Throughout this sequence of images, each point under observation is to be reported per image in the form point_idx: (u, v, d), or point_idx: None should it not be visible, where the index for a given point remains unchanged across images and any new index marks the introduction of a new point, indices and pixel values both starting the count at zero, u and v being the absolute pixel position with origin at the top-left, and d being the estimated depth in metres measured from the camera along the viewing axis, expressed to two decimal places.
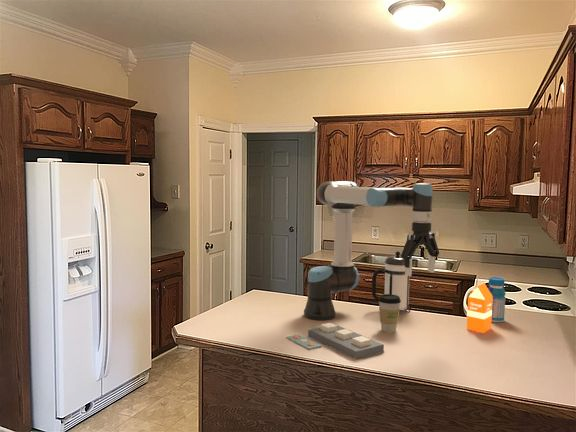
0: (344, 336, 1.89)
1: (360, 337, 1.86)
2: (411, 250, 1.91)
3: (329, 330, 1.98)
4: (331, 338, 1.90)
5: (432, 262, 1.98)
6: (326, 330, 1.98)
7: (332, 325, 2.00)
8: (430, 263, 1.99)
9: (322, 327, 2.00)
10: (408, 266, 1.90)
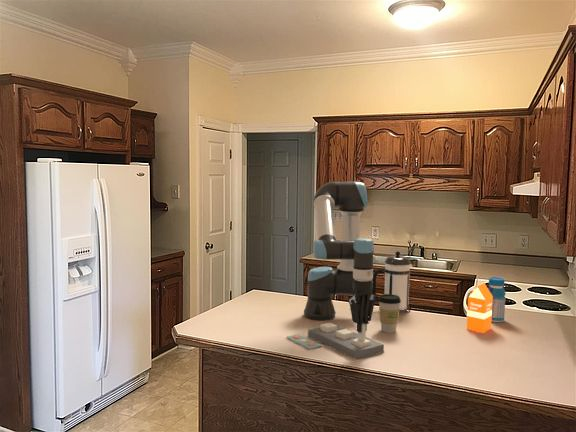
0: (344, 336, 1.89)
1: None
2: (359, 314, 1.82)
3: (329, 330, 1.98)
4: (331, 338, 1.90)
5: None
6: (326, 330, 1.98)
7: (332, 325, 2.00)
8: None
9: (322, 327, 2.00)
10: (360, 331, 1.82)
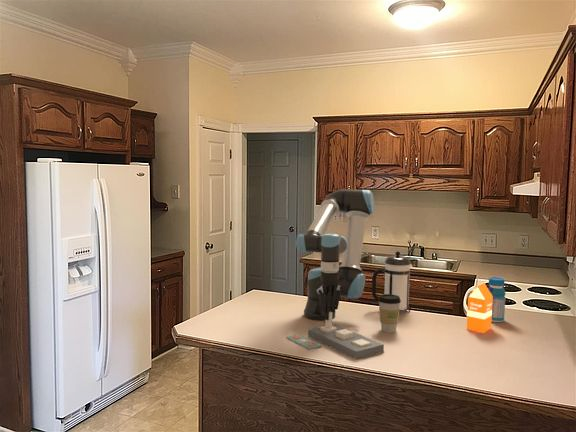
0: (344, 336, 1.89)
1: (360, 340, 1.86)
2: (326, 303, 1.98)
3: (329, 332, 1.98)
4: (331, 338, 1.90)
5: None
6: None
7: (332, 327, 2.00)
8: None
9: (322, 329, 2.01)
10: (327, 318, 1.99)
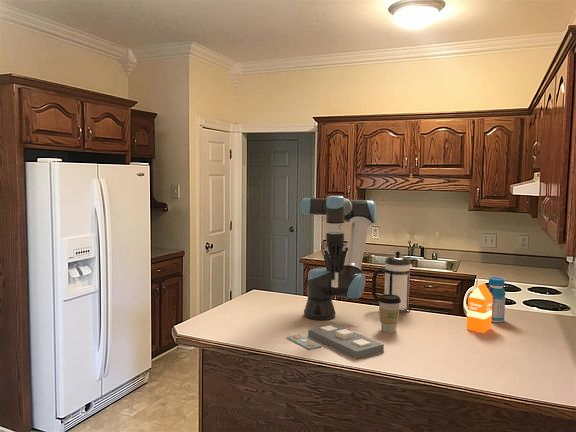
0: (344, 336, 1.89)
1: (360, 340, 1.86)
2: (332, 263, 2.03)
3: None
4: (331, 338, 1.90)
5: None
6: None
7: (332, 328, 2.00)
8: None
9: (322, 330, 2.01)
10: (333, 279, 2.04)
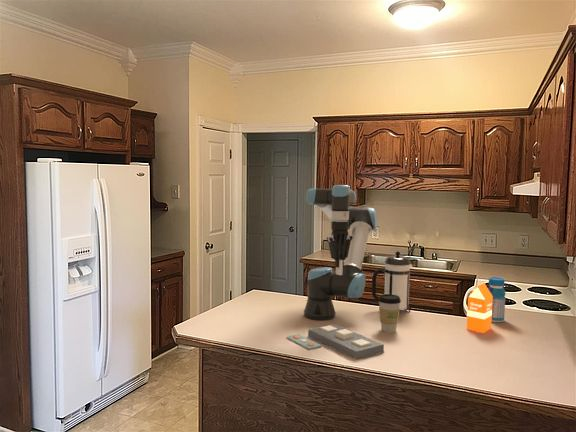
0: (344, 336, 1.89)
1: (360, 340, 1.86)
2: (337, 251, 2.07)
3: None
4: (331, 338, 1.90)
5: None
6: None
7: (332, 328, 2.00)
8: None
9: (322, 330, 2.01)
10: (338, 266, 2.08)
